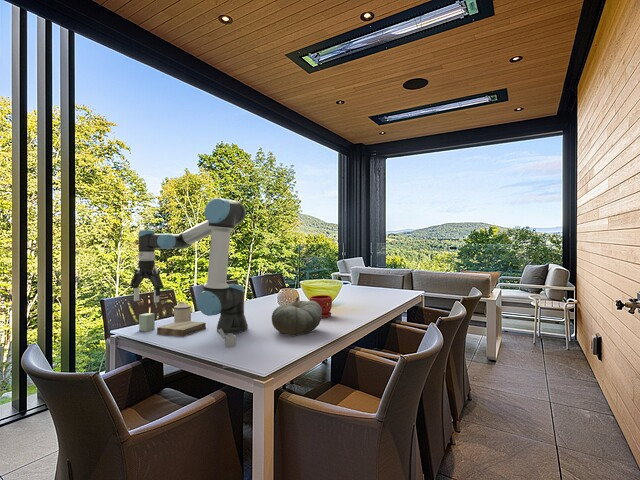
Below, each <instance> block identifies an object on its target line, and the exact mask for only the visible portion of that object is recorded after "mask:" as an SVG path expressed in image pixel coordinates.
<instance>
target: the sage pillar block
mask: <svg viewBox="0 0 640 480" xmlns="http://www.w3.org/2000/svg"><path fill="white" fill-rule="evenodd" d="M155 320H156V317H155V313H154V312H153V313H149V312H146V313H142V314H138V329H139V330H141V331H140V332H146V331H147V332H150V331H153V330H152V329H154V330H155V327H156V325H155V324H156V323H155ZM139 330H138V331H139ZM149 330H150V331H149Z"/></svg>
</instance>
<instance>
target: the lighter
mask: <svg viewBox="0 0 640 480" xmlns="http://www.w3.org/2000/svg"><path fill="white" fill-rule="evenodd" d="M218 331H219V332H218V333H219V335H220V337H221V338H222V339H223V340H224V346H225V348H226V349H227V348H232V347H236V346H237V345H236V344H237V342H236V341H237V337H236V336H237V335H235V333H227V335H226V333H224V332H223V330H222V329H221V328H220V329H219V330H218Z"/></svg>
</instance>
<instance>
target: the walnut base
mask: <svg viewBox="0 0 640 480" xmlns="http://www.w3.org/2000/svg"><path fill="white" fill-rule="evenodd" d="M206 327H207V326H206V322H202V321H192V320H191V321H178V322H174V321H173V322H172V323H168V324H164V325H161V326H157V328H156V334H157V335H167V336H176V337H177V336H178V337H186V336H187V335H191V334H194V333H197V332H200V331H204V330H205V329H206Z"/></svg>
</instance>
